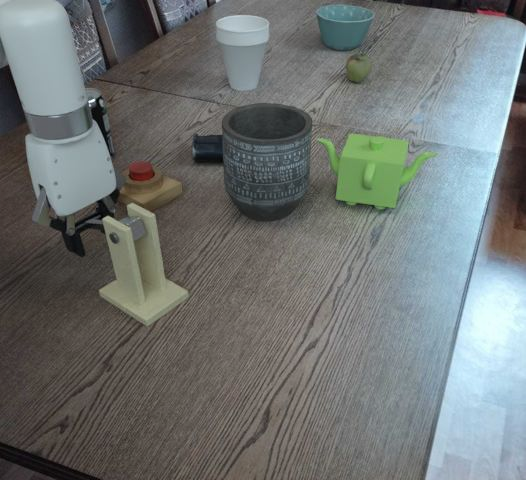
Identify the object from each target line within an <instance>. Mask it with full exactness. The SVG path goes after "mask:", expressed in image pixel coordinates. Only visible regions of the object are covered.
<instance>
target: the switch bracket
mask: <svg viewBox="0 0 526 480" xmlns="http://www.w3.org/2000/svg"><path fill="white" fill-rule="evenodd" d="M126 210H127V216H135V217H141V220H142V223H143V225H144V228H145V230H146V233H147V234H146V235H145V236H143V237H141V238H139V239H138V240H136V241H133V236H132V231H131V228H130V227H128V226H126V225H124V224H123V223H121V222H119V220H117V219H116V218H115V219H113V218H111V217H110V216H106V217H104V218H103V219H102V221H103V225H104V229H105V233H106V235H105V237H106V241H107V245H108V250H109V252H110V258H111V262H112V266H113V271H114V274H115V275H114V276H115V278H116V279H114V280H113V281H111V282H109V283H108V284H106V285H105V286H102V287H101V288H99V289H98V292H99V293H98V294H99V296H100V297H101V298H102V299H103V300H105V301H107V302H108V303H110V304H111V305H113V306H115V307H116V308H118V309H119V310H121V311H122V312H123V313H125V314H127V315H128V316H130V317H131V318H133V319H134V320H136V321H137V322H139V323H141V324H142V325H144V326H145V327H147V328H148V327H150V326H151V325H152V324H154V323H155V322H157V321H158V320H159V319H161V318H162V317H163V316H165V315H166V314H169V312H171V311H173V309H175V308H176V307H177V306H179V305H180V304H182V303H183V302H185V301H186V300H187V299H189V298H190V295H189V291H188V289H186V288H183V287H182V286H180V285H178V284H177V283H175V282H173V281H172V280H170V279H168V278H166V274H165V268H164V263H163V262H164V261H163V256H162V250H161V244H160V243H161V242H160V238H159V231H158V223H157V217H156V214H155V213H153V211H152V212H150V211H148V210H146V209H144V208H142V207H140V206H138V205H136V204H134V203H131V204H129V205H127V206H126Z"/></svg>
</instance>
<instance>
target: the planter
mask: <svg viewBox="0 0 526 480" xmlns="http://www.w3.org/2000/svg"><path fill="white" fill-rule="evenodd" d="M292 106H293V105H287V104H282V103H272V102H271V103H269V102H257V103H251V104H245V105H242V106H239V107H235V108H233V109H231V110H230V111H228V112H227V113H226V114H225V115H224V116H223V118H222V119H221V135H222V141H223V161H224V162H223V182H224V190H225V193H226V194H227V196H228V197H229V198H230V200H231V201H232V203H233V204H234V205H235V207H236V208H237V210H239V212H240V213H241V214H242V215H243V216H244V217H246V218H249V219H251V220H253V221H254V220H255V221H259V222H274V221H279V220H282V219H285V218H287V217H288V216H290V215H291V214H292V213H293V212H294V210H295V209H296V208H297V207H298V206H299V204H300V203H301V201H302V200H303V199H304V197H306V194H307V192H308V190H309V185H310V184H309V183H310V172H311V171H310V168H311V167H310V166H311V156H312V155H311V153H312V137H313V136H312V134H313V119H312V117H311V115H310V114H309V113H308V112H306V111H304V110H303V109H301V108H298V107H296V106H294V107H292ZM295 107H296V108H295Z"/></svg>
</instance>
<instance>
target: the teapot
mask: <svg viewBox="0 0 526 480" xmlns="http://www.w3.org/2000/svg"><path fill="white" fill-rule="evenodd" d="M316 141H318V142H319V143H321V145H323V146H324V148H325V149H326V151H327V156H328V161H329V165H330V166H329V167H330V169H331V170H332V172H333V173H334V175H336V176H337V183H336V193H335V200H337V201H343V202H345V204H346V205H349V206H355V205H357V204H364V205H371V206H373V207H374V208H375V209H377V210H385V209H387V208H389V209H396V207H397V203H398V199H399V194H400V189H401V187H402V186H405V185H408V184H410V182H411V181H412V180H414V178H415V177H416V175H417V174H418V171H419V170H420V168H421V166H422V165H423V163H424V162H425V161H427V160H428V159H431V158H433V157H436V156H438V153H435V152H429V151H427V152H422V153H420V154H419V155H417V157H416V158H415V159H414V161H413V163H412V164H411V165H409V166H408V167H406V168H405V164H406V160H407V153H408V150H409V149H408V148H409V143H410V140H407V139H398V138H390V137H384V136H383V135H379V134H378V135H367V134H360V133H359V134H358V133H348V136H347V139H346V141H345V144H344V146H343V148H342V151H341V154H340V157H339V156H338V154H337V151H336V148H335V145H334V143H333V141H331V140H330V139H326V138H321V137H320V138H316Z"/></svg>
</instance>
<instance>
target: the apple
mask: <svg viewBox="0 0 526 480" xmlns="http://www.w3.org/2000/svg"><path fill="white" fill-rule="evenodd" d="M345 70H346V74H347V79H349V81H350V82H355V83H357V84H361V82H363V81H364V79H365V78H367V76H368V75H369V73H370V72H371V60H370V58H369V56H368V55H367V54H366V53H356V54H355V53H354V54H352V55H350V56H349V57H348V58H347V59H346V62H345Z"/></svg>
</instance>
